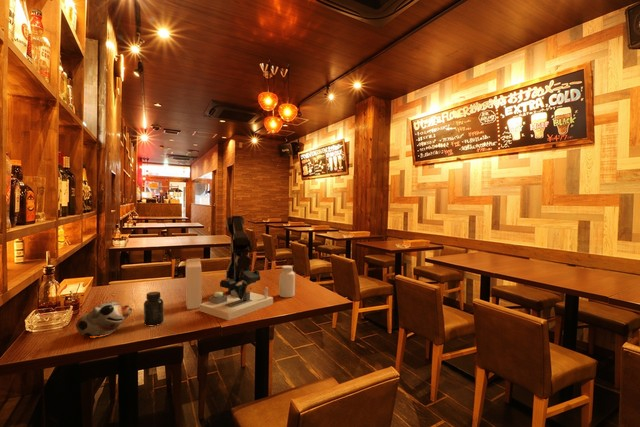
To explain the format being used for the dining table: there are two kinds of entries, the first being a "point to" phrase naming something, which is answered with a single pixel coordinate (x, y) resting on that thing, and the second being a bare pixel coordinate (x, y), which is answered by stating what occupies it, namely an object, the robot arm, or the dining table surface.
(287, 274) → the pill bottle
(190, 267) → the milk
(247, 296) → the slider
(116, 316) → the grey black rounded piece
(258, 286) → the dining table surface
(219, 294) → the pale yellow button
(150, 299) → the supplement bottle
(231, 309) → the console
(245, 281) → the robot arm
